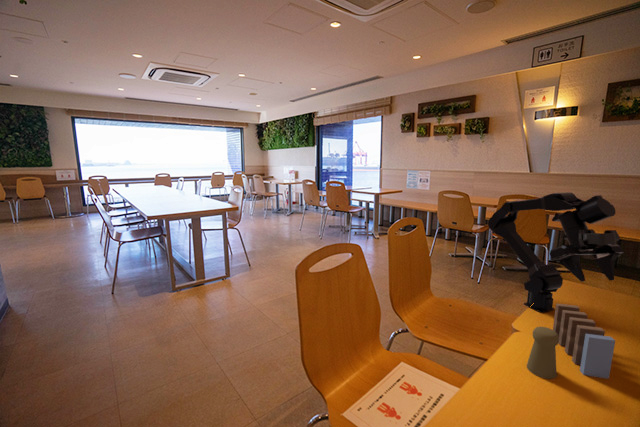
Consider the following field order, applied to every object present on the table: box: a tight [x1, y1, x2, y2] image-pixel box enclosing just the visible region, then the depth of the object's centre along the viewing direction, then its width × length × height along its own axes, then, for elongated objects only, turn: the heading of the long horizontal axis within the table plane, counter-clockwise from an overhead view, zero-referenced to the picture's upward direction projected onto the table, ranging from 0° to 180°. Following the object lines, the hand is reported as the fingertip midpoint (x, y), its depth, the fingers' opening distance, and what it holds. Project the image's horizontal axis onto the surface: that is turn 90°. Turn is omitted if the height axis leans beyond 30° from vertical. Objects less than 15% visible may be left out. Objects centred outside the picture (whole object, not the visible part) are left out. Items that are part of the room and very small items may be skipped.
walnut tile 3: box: [564, 317, 597, 356], centre depth 80 cm, size 2×5×10 cm, turn 73°
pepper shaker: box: [526, 326, 559, 380], centre depth 74 cm, size 6×6×11 cm
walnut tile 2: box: [558, 310, 588, 347], centre depth 84 cm, size 2×5×10 cm, turn 73°
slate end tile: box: [579, 334, 616, 380], centre depth 72 cm, size 2×5×10 cm, turn 73°
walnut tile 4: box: [571, 325, 606, 366], centre depth 76 cm, size 2×5×10 cm, turn 73°
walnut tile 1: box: [552, 303, 581, 336], centre depth 87 cm, size 2×5×10 cm, turn 73°
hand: (597, 280), depth 86 cm, fingers open, 9 cm apart
